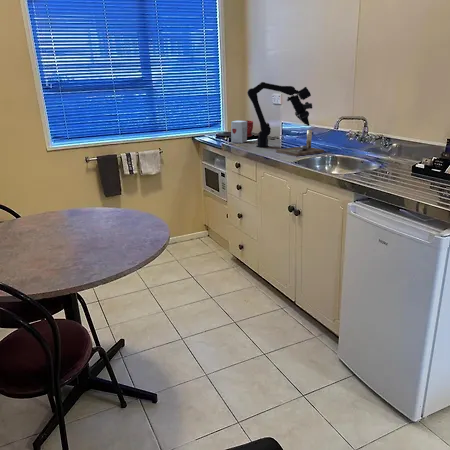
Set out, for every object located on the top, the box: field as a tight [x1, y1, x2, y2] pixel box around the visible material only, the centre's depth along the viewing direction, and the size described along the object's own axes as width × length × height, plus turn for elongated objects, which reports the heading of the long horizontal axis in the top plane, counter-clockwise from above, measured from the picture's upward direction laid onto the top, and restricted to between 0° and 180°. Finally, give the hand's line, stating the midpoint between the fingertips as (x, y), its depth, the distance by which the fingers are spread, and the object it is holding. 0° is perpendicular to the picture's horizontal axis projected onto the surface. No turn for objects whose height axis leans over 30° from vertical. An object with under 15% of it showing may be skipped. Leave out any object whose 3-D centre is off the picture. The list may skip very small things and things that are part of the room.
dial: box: [297, 129, 313, 152], centre depth 264 cm, size 19×4×11 cm, turn 148°
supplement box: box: [230, 120, 248, 144], centre depth 309 cm, size 9×9×15 cm
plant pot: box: [244, 119, 254, 138], centre depth 336 cm, size 13×13×12 cm
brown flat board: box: [276, 146, 325, 157], centre depth 267 cm, size 24×18×2 cm
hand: (307, 124), depth 285 cm, fingers open, 9 cm apart
